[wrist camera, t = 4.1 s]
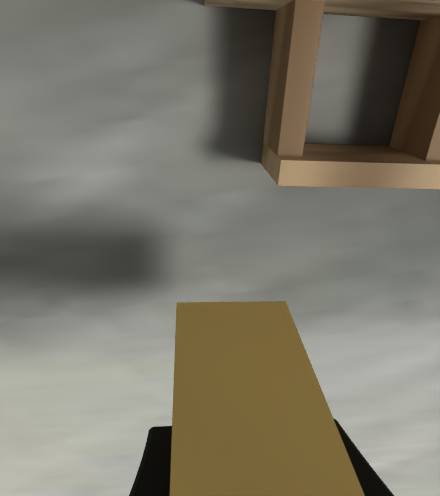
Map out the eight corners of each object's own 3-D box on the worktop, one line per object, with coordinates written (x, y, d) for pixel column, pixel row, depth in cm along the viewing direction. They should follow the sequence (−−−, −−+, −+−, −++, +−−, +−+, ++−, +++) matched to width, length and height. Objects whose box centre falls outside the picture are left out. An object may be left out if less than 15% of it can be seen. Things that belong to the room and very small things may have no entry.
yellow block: (285, 301, 14) (369, 506, 7) (273, 379, 15) (332, 595, 9) (176, 302, 13) (169, 520, 7) (177, 382, 15) (172, 610, 9)
